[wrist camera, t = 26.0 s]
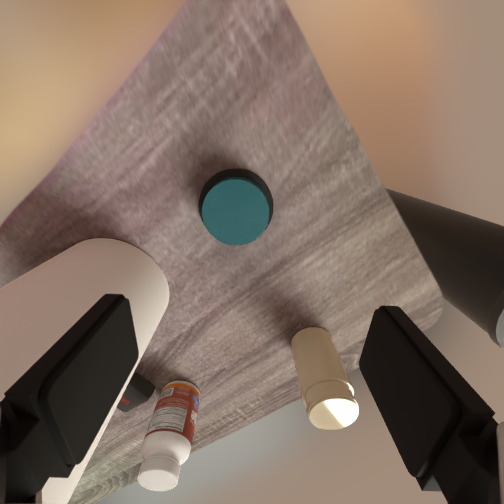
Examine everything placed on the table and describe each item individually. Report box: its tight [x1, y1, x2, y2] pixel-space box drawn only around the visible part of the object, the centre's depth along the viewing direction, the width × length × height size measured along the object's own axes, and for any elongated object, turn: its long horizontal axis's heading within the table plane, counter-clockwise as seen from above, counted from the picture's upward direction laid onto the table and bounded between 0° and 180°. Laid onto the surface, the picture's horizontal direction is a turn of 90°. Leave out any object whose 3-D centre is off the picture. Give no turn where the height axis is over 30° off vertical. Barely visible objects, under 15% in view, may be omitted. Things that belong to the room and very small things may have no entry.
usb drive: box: [117, 371, 155, 412], centre depth 35 cm, size 5×12×3 cm, turn 36°
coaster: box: [199, 169, 273, 229], centre depth 26 cm, size 8×8×1 cm
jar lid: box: [202, 177, 269, 245], centre depth 25 cm, size 7×7×2 cm
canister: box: [0, 238, 169, 504], centre depth 21 cm, size 14×14×20 cm
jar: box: [291, 327, 359, 430], centre depth 30 cm, size 6×6×10 cm
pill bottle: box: [138, 381, 200, 491], centre depth 33 cm, size 6×6×11 cm
